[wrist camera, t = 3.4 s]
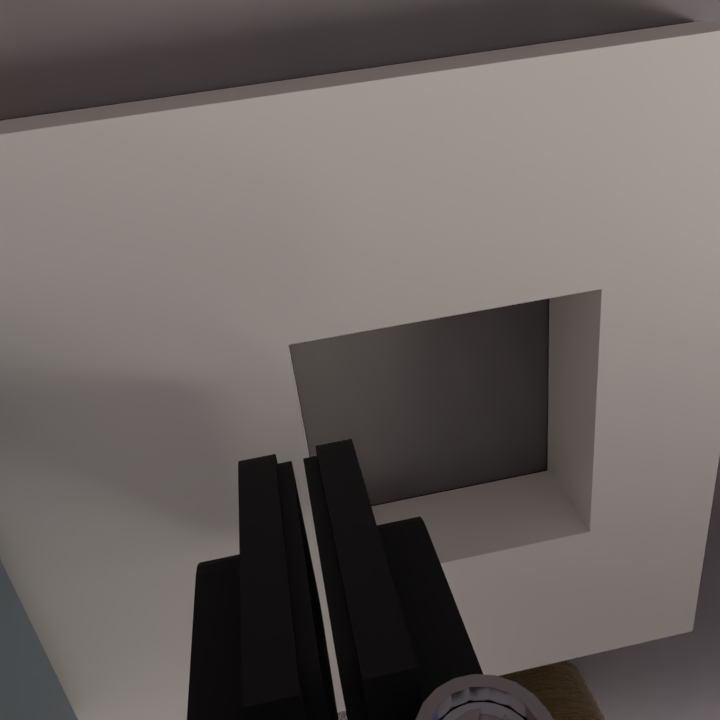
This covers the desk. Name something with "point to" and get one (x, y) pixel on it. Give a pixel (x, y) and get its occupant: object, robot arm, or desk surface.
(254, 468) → the robot arm
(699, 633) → the desk surface
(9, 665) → the housing
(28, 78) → the desk surface
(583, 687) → the pin
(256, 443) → the board
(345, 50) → the desk surface
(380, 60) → the desk surface
